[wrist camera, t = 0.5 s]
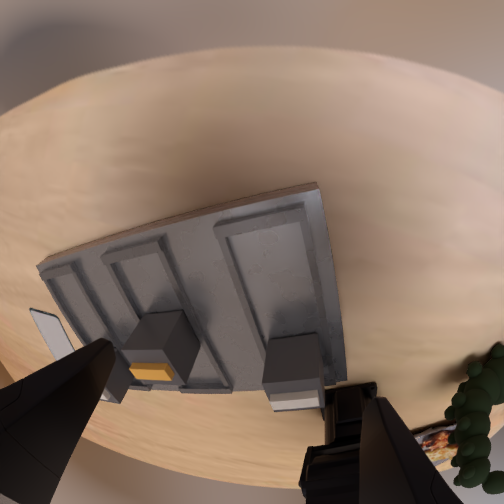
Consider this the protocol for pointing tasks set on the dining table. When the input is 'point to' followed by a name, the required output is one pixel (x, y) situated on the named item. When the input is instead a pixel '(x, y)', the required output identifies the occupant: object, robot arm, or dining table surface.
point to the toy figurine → (477, 423)
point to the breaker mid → (162, 349)
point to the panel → (212, 285)
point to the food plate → (437, 444)
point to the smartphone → (52, 333)
